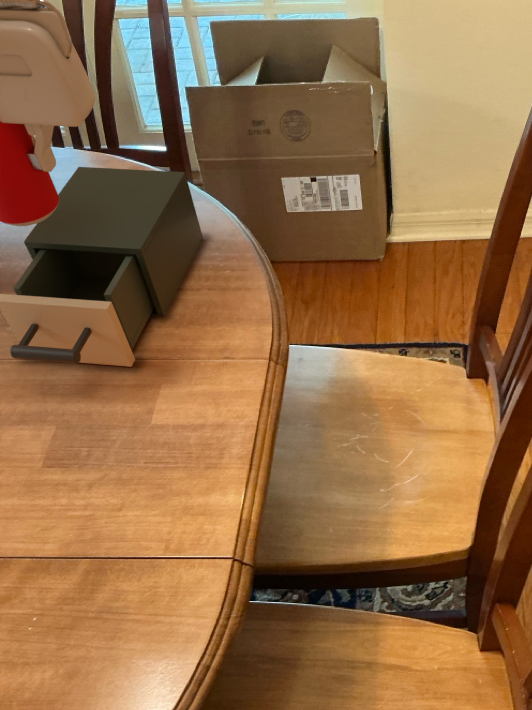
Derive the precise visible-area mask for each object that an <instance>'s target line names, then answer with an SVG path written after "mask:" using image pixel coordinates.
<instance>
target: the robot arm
mask: <svg viewBox="0 0 532 710" xmlns="http://www.w3.org/2000/svg"><path fill="white" fill-rule="evenodd" d="M42 6H43V7H42ZM95 102H96V95H95V92H94V89H93V85H92V83H91V81H90V78H89V76H88V74H87V71H86V69H85V67H84V65H83V62H82V60H81V58H80V56H79V54H78V52H77V50H76V48H75V46H74V44H73V42H72V36H71V34H70V30H69V28H68V25H67V22H66V19H65V17H64V16H63V14H62V12H61V11H60V9H58V8H56V7H55V5H53V4H52V3H51V2H50V1H48V0H0V121H1V122H2V123H12V124H24V125H25V127H26V129H27V132H28V134H29V135H33V136H35V138H34V139H35V143H34V145H33V147H32V149H31V150H30V151H28V152H27V153H26V155H27V157H28V160H29V161H30V162H31V163H32V165H31V167H32V169H33V170H34V171H43V172H49V173H52V172H53V170H54V169H55V168H56V166H57V159H56V157H55V154H54V151H53V149H52V147H51V144H52V139H53V133H54V128H55V127H69V128H77V127H79V126H80V125H82V123H83V122H84V121H85V120H86V119H87V118H88V116H89V115H90V113H91V112H92V110H93V108H94V106H95Z"/></svg>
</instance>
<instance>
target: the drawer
mask: <svg viewBox="0 0 532 710" xmlns="http://www.w3.org/2000/svg"><path fill="white" fill-rule="evenodd" d="M12 289H13V291H14V293H15V294H9V293H0V313H1V314H2V315H3V318H4V319H5V321H6V323H7V325H8V326H9V328H10V330H11V332H12V334H13V335H14V337H15V339H16V341H17V342H18V344H12V345H11V346H10V351H9V352H10V356H11V357H12V358H13V359H16V360H17V359H18V360H26V361H27V360H30V361H40V362H41V361H42V362H53V363H54V362H55V363H66V364H75V365H77V364H79V363H81V364H93V365H107V366H117V367H118V366H119V367H130V368H132V367H133V365H134V363H135V361H136V358H135V356H134V354H133V349H134V347H135V346H136V343H137V342H138V340H139V337H140V336H141V334H142V332H143V330H144V328H145V326H146V324H147V323H148V320H149V319H150V317H151V313H152V311H153V309H154V307H155V306H154V303H153V300H152V298H151V295H150V292H149V289H148V286H147V284H146V281H145V278H144V275H143V272H142V270H141V267H140V264H139V261H138V258H137V256H136V255H134V254H119V253H103V252H87V251H72V250H56V249H40V250H39V252H38V253H37V255H36V256H35V258H34V259H33V260H32V261H31V262H30V263H29V264H28V266H27V268H26V269H25V270H24V271H23V272H22V274H21V276H20V277H19V279H18V280H17V282H16V283H15V284H14V286H13V287H12Z"/></svg>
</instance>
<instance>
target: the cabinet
mask: <svg viewBox="0 0 532 710" xmlns="http://www.w3.org/2000/svg"><path fill="white" fill-rule="evenodd" d="M189 185H190V184H189V181H188V179H187V174H186V172H185V171H171V170H169V171H167V170H149V169H133V168H132V169H130V168H127V169H126V168H112V167H109V168H108V167H92V166H91V167H90V166H78V167H77V168H76V170H75V171H74V172H73V174H72V175H71V176H70V177H69V179H68V180H67V182H66V183H65V185H63V187H62V189H61V190H60V192H59V193H58V196H59V203H58V206H57V208H56V209H55V210H54V212H53V213H52V214H51V215H50V216H49V217H48V218H47V219H45V220H43V221H41V222H39V223H37V224H35V225H34V227H33V229H32V230H31V231H30V232H29V234H28V235H27V237H26V238H25V239H24V241H23V243H24V245H25V247H26V250H27V252H28V254H29V255H30V257H31V259H32V260H33V259H34V258H35V256H36V255H37V253H38V252H39V250H40V249H56V250H72V251H87V252H103V253H119V254H134V255H136V256H137V258H138V261H139V264H140V267H141V270H142V272H143V275H144V278H145V281H146V284H147V286H148V289H149V292H150V295H151V298H152V300H153V303H154V306H155V307H154V309H153V311H152V313H151V315H150V317H151V316H153V317H165V316H166V314H167V312H168V310H169V308H170V306H171V304H172V302H173V300H174V298H175V296H176V295H177V292H178V290H179V289H180V286H181V285H182V283H183V281H184V279H185V276H186V275H187V272H188V271H189V269H190V266H191V265H192V263H193V261H194V258H195V257H196V255H197V253H198V250H199V249H200V247H201V245H202V243H203V241H204V237H203V233H202V229H201V226H200V222H199V218H198V215H197V211H196V207H195V203H194V200H193V196H192V192H191V188H190V186H189Z"/></svg>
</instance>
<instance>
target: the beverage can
mask: <svg viewBox="0 0 532 710" xmlns="http://www.w3.org/2000/svg"><path fill="white" fill-rule="evenodd" d="M35 139H36V138H35V137H34V135H29V134H28V132H27V129H26V127H25V125H24V124H12V123H2V122H1V121H0V222H1V223H2V224H6V225H10V226H13V227H27V226H28V227H29V226H34V225H36V224H37V223H39V222H41V221H43V220H45V219H47V218H48V217H49V216H50V215H51V214H52V213H53V212H54V210H55V209H56V208H57V206H58V203H59V196H58V194H59V193H58V191H57V188H56V186H55V183H54V181H53V180H52V179H53V178H52V177H51V175H50V172H43V171H34V170H33V169H32V167H31V165H32V163H31V162H30V161H29V160H28V157H27V155H26V153H27V152H28V151H30V150H31V149H32V147H33V145H34V143H35Z"/></svg>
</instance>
